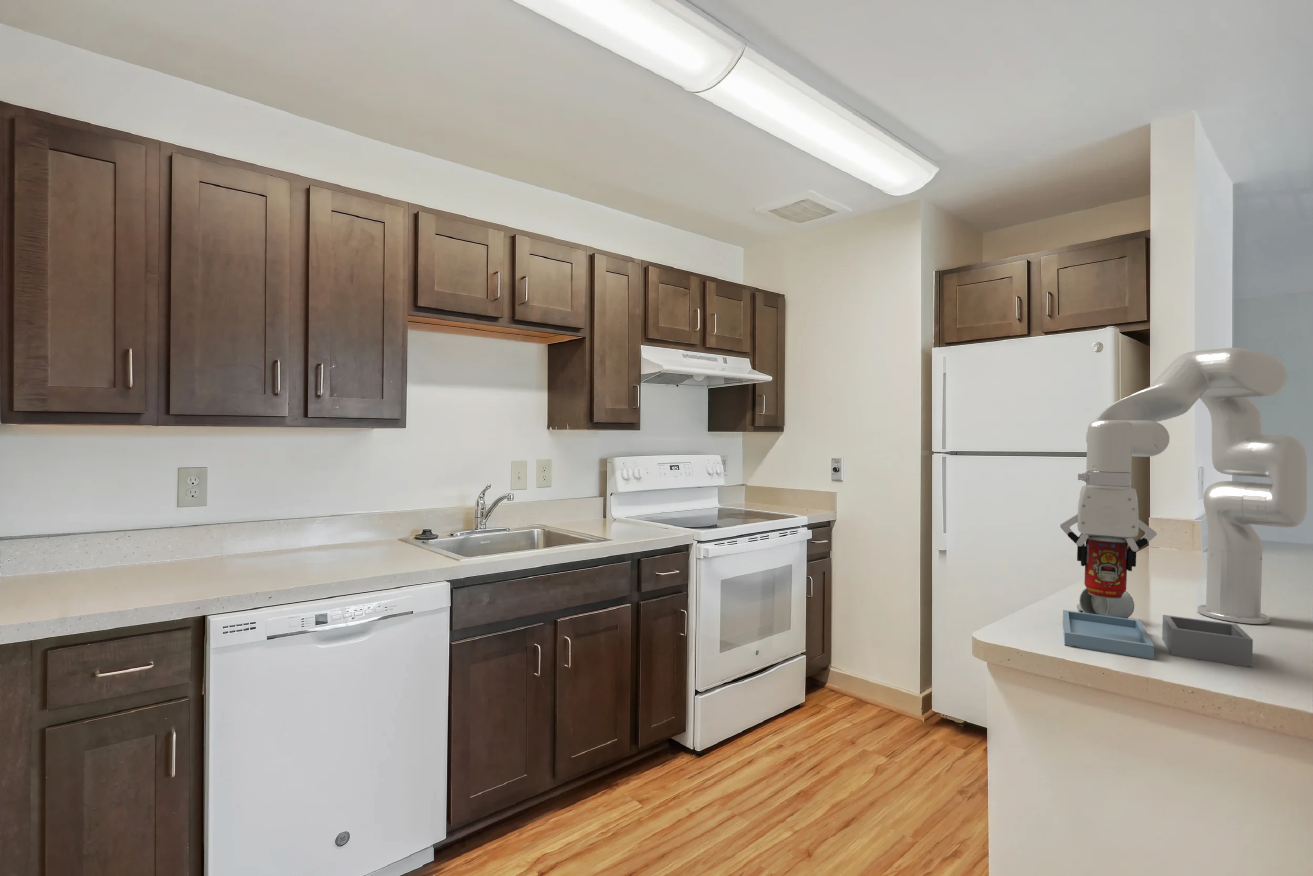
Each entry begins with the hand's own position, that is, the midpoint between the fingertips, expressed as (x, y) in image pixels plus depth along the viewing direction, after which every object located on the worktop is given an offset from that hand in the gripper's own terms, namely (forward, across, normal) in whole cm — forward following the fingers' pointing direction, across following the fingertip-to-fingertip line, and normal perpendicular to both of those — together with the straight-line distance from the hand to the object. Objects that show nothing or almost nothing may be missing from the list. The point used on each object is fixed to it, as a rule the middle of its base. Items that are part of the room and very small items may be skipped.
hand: (1105, 566), depth 132 cm
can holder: (+15, +16, +1) cm, 22 cm away
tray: (+15, 0, 0) cm, 15 cm away
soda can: (+6, 0, 0) cm, 6 cm away
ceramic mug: (+15, +1, +19) cm, 24 cm away
